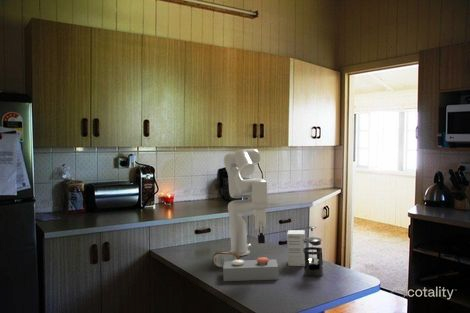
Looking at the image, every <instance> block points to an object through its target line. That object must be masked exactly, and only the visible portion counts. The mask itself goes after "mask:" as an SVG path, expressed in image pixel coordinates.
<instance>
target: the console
mask: <svg viewBox="0 0 470 313" xmlns="http://www.w3.org/2000/svg"><path fill="white" fill-rule="evenodd" d="M242 260H243V261H244V264H243V265H241V266H235V265H233V264H232V261H225V262H224V266H223V268H222V272H223V274H222V276H223V282H233V281H234V282H235V281H237V282H241V281H243V282H244V281H264V280H265V281H267V280H270V281H271V280H279V279H280V278H279V265H278V262H277V259H275V258H274V259H273V258H272V259H268V262H267V263H266V265H260V264H259V263H258V262H257V259H249V260H247V259H246V260H244V259H242Z"/></svg>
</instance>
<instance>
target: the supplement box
mask: <svg viewBox="0 0 470 313" xmlns="http://www.w3.org/2000/svg"><path fill="white" fill-rule="evenodd" d="M304 238H306V230H305V229H300V230H299V229H297V230H296V229H293V230H292V229H291V230H289V229H288V230H287V233H286V243H287V244H286V245H287V266H289V267H290V266H291V267H297V266H299V267H304V266H305V261H304V260H305V253H304V252H303V249H304V248H307V247H306V243H304V241H303V239H304Z"/></svg>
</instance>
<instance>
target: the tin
mask: <svg viewBox="0 0 470 313" xmlns="http://www.w3.org/2000/svg"><path fill="white" fill-rule="evenodd" d="M233 260H242V259H241V256H239V255H238V254H237V253H236V252H229V251H228V250H227V251H226V250H219V251H216V252H215V253H214V254H213V256H212V263H213V264H214V265H215V267H217V268H220V269H223V266H224V262H225V261H233Z"/></svg>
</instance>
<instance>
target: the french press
mask: <svg viewBox="0 0 470 313" xmlns="http://www.w3.org/2000/svg"><path fill="white" fill-rule="evenodd" d="M306 228H307V229H309V230H310V231H311V232H313V231H314V229H316V228H317V227H316V226H307V227H306ZM303 241H304V243H305V244H306V243H309V244H311V246H309V247H306V248H304V249H303V252H304V253H305V260H304V261H305V266H303V275H304V276H306V277H308V278H319V277H323V276H324V267H323V247H320V245H321V244H322V241H323V240H322V238H321V237H315V236H311V237H310V236H309V237H305V238H304V239H303ZM316 246H317V247H316ZM309 255H312V256H314V255H315V256H316V258H314V257H312V258H311V257H310V256H309Z"/></svg>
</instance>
